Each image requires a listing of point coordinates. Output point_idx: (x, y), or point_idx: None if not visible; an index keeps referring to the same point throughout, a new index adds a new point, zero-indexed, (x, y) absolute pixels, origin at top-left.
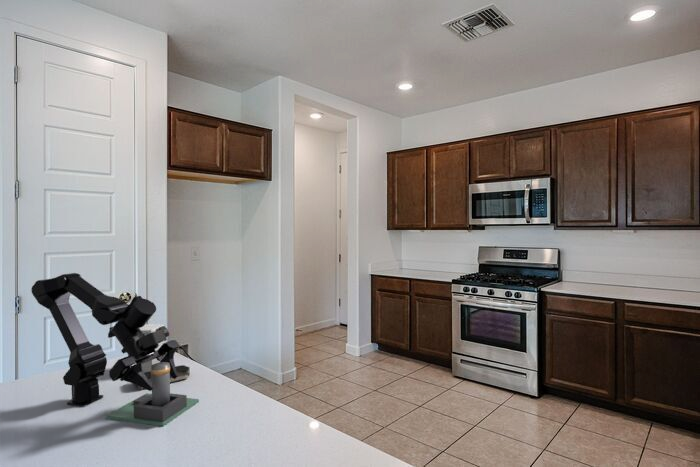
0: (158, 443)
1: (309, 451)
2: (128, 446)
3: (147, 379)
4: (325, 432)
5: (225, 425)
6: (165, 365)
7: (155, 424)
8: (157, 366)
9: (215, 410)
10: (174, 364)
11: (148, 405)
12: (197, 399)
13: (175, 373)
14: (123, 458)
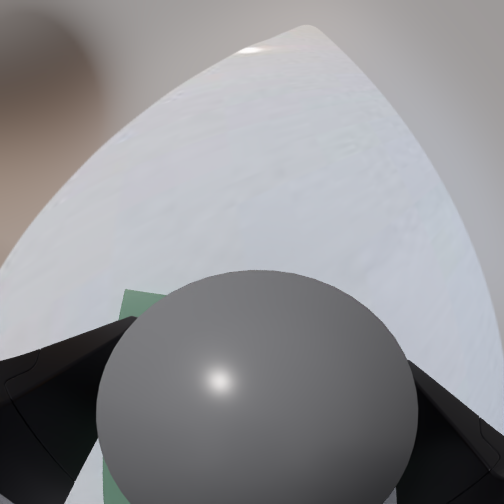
0: (421, 258)
1: (323, 50)
2: (454, 332)
3: (445, 405)
4: (270, 42)
5: (286, 141)
6: (281, 305)
7: None
8: (361, 422)
9: (197, 200)
10: (39, 349)
11: None
12: (127, 293)
13: (122, 327)
14: (483, 298)
